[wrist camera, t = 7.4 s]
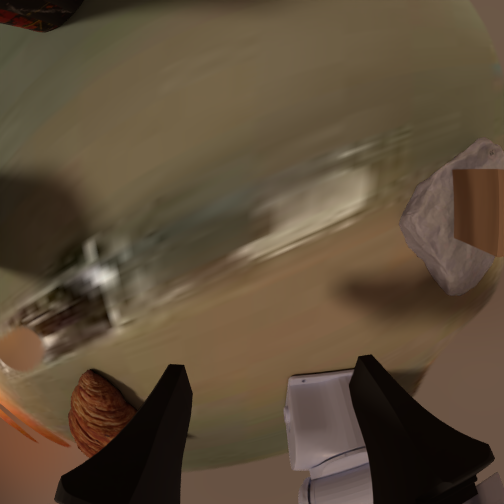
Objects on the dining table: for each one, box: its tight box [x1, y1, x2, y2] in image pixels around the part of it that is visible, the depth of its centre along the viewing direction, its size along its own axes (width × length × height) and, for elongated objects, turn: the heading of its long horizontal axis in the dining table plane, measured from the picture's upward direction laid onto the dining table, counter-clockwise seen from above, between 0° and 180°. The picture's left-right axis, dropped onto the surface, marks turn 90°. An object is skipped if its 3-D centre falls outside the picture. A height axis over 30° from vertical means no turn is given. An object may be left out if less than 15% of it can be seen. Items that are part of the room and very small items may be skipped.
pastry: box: [68, 370, 137, 458], centre depth 26 cm, size 17×15×8 cm
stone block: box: [399, 137, 504, 296], centre depth 17 cm, size 12×5×10 cm
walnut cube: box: [452, 169, 504, 257], centre depth 11 cm, size 4×4×5 cm
